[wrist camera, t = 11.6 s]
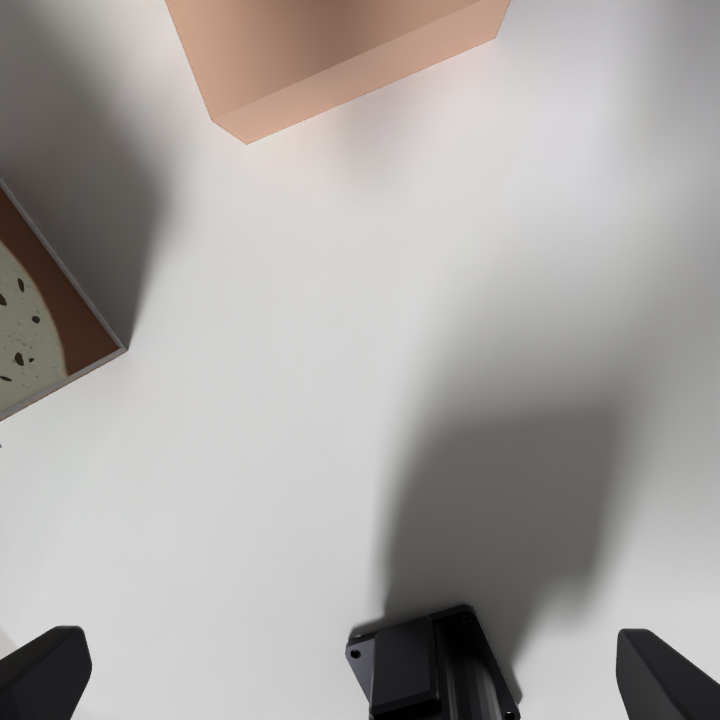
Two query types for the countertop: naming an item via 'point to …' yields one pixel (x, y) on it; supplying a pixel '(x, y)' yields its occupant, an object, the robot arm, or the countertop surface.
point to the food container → (42, 316)
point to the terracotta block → (316, 51)
